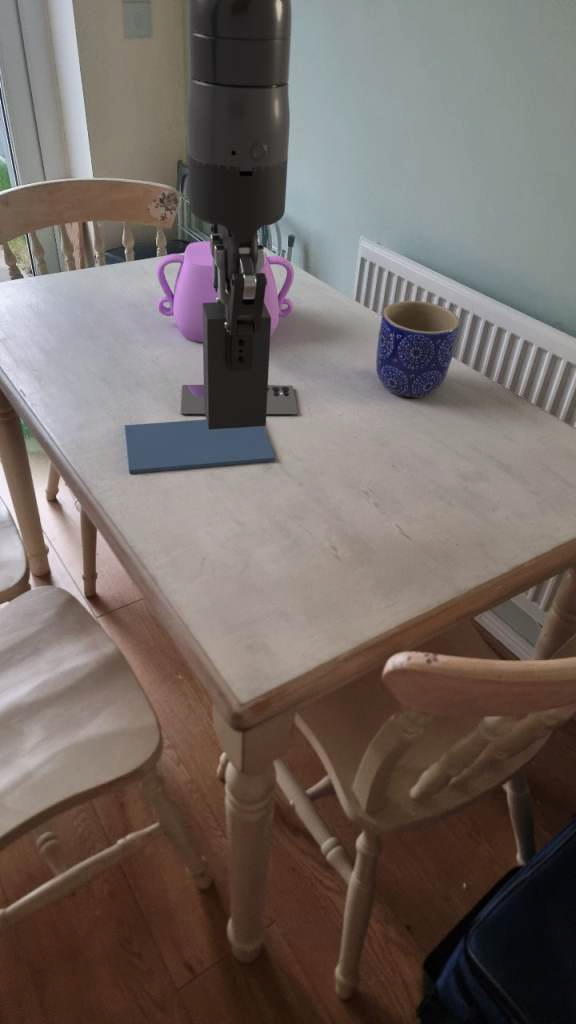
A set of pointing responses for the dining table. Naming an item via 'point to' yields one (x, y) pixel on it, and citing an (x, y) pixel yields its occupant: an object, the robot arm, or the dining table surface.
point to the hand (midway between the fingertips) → (235, 357)
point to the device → (234, 374)
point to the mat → (193, 446)
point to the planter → (415, 347)
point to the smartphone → (277, 400)
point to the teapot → (212, 289)
